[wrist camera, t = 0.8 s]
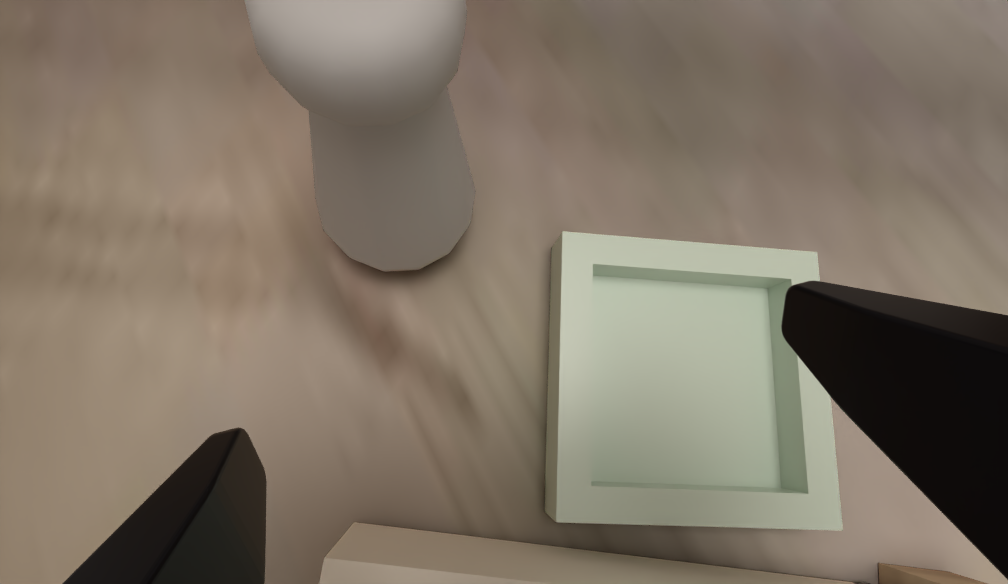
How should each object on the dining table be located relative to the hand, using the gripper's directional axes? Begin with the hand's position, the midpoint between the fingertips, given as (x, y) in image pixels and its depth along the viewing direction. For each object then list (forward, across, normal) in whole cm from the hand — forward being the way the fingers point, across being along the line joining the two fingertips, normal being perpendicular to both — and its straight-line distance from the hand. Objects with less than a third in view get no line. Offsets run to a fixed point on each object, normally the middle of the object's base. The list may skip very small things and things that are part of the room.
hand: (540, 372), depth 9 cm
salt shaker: (+15, +1, +2) cm, 15 cm away
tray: (+9, -8, +9) cm, 15 cm away
